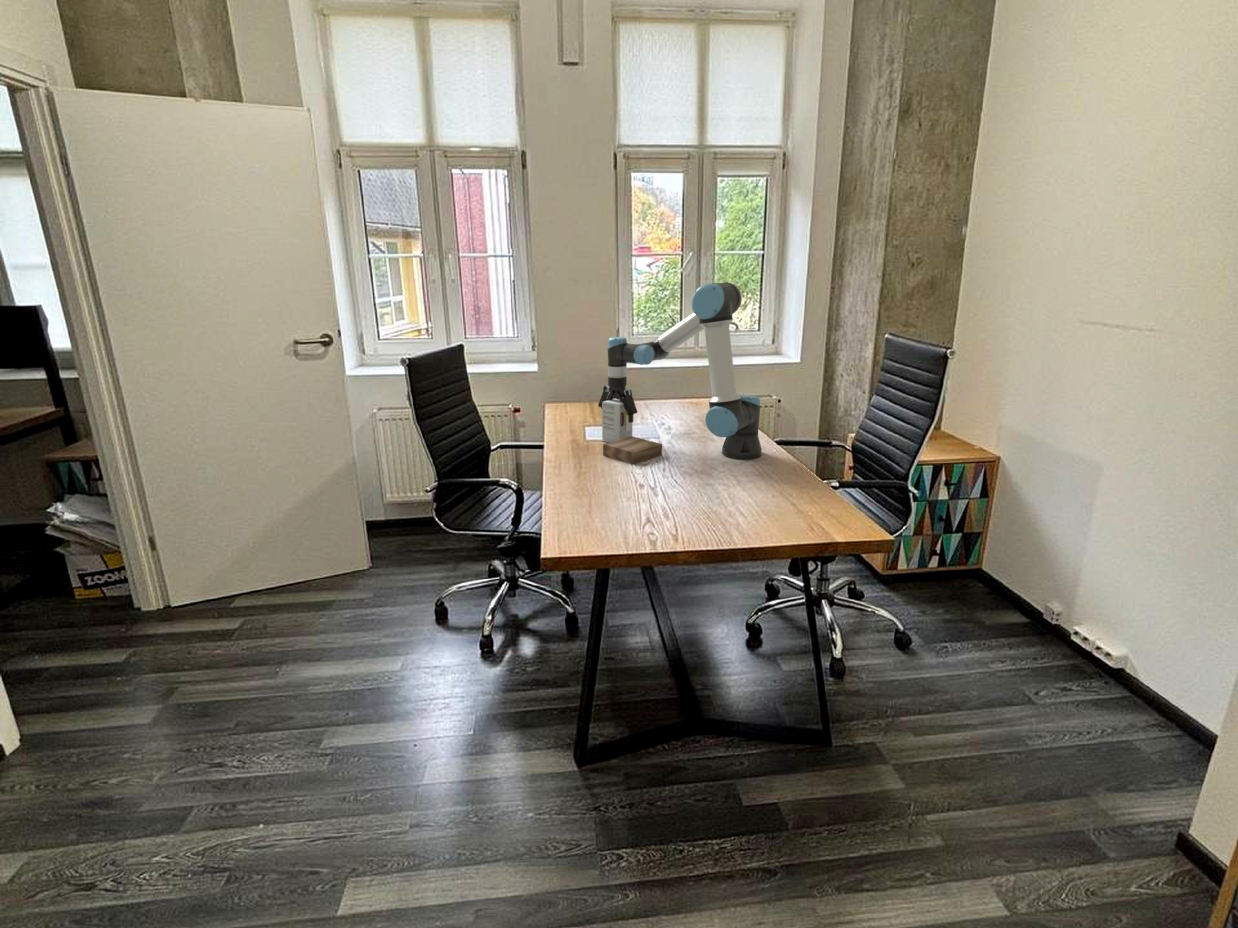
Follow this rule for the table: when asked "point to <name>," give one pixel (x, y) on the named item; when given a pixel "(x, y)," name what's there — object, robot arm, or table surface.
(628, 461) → the walnut block
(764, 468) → the table surface
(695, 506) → the table surface
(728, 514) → the table surface
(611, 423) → the supplement box
